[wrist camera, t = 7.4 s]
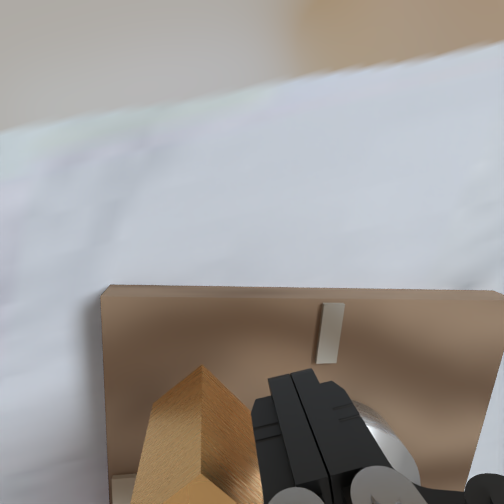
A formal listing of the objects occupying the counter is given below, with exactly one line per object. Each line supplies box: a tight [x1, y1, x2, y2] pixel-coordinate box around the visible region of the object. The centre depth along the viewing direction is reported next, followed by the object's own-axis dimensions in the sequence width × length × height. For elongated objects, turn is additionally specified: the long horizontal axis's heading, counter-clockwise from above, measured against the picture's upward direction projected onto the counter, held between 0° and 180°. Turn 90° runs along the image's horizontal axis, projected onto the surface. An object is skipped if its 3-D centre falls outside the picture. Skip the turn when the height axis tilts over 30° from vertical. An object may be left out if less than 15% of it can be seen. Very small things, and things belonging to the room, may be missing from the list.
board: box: [100, 285, 504, 504], centre depth 17 cm, size 20×20×2 cm
